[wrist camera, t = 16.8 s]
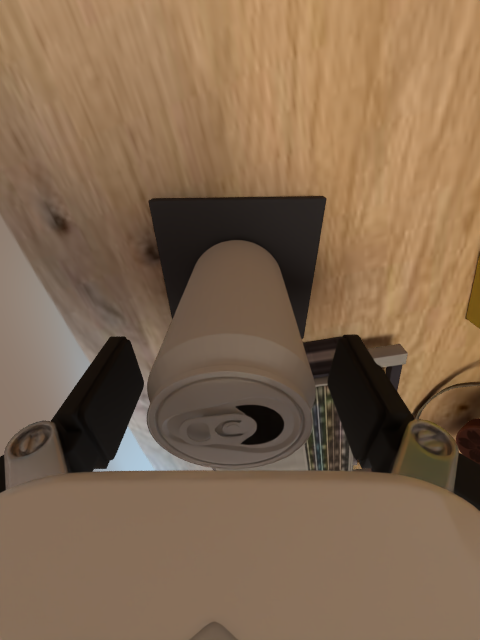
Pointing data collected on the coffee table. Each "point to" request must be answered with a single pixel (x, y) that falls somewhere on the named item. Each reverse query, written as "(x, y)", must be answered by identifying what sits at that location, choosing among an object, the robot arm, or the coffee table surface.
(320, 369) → the radio
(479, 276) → the flat olive board
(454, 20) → the coffee table surface
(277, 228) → the coaster
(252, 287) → the beverage can
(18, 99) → the coffee table surface
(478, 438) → the binoculars
